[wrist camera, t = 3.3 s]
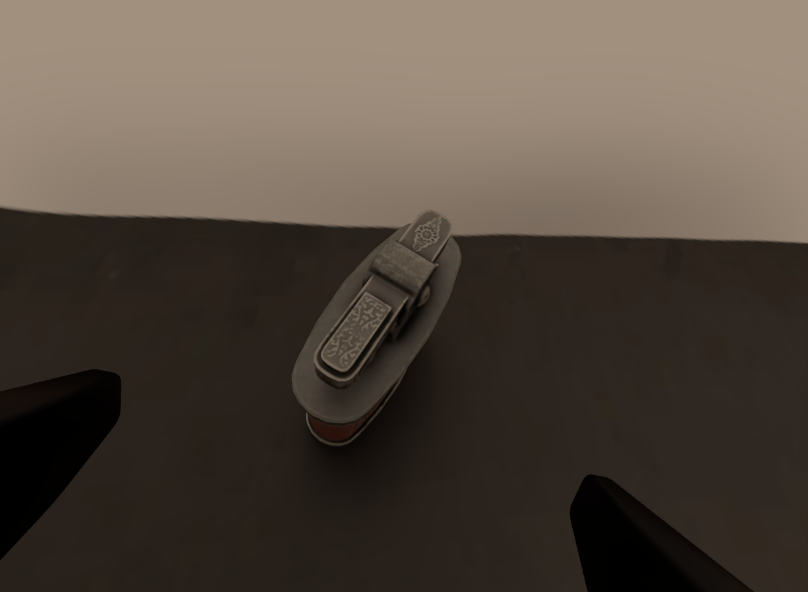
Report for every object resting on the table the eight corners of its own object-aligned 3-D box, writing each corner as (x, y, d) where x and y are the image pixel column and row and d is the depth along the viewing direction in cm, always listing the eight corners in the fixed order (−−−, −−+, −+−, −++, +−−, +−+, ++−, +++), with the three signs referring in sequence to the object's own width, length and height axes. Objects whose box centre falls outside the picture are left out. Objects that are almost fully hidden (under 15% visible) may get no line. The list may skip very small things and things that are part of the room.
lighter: (382, 293, 21) (416, 156, 13) (434, 325, 21) (507, 208, 12) (289, 421, 18) (245, 355, 9) (351, 463, 17) (369, 437, 9)
